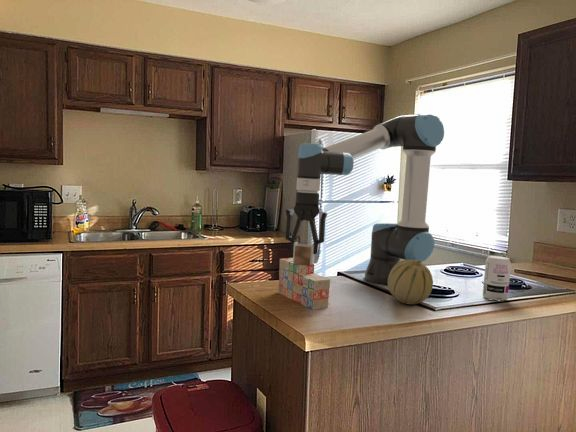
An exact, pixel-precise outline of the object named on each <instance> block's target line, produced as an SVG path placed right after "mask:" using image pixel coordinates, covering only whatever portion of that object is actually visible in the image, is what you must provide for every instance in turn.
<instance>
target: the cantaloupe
mask: <svg viewBox="0 0 576 432" xmlns="http://www.w3.org/2000/svg"><path fill="white" fill-rule="evenodd" d="M387 287H388V290H389V293H390V294H391V295H392V297H393V298H394V299H395V300H397V301H398V302H400V303H403V304H406V305H418V304H421V303H422V302H424V301H426V299H428V298H429V296H430V295H431V293H432V290H433V287H434V278H433V275H432V273H431V270H430V269H429V268H428V267H427V266H426V264H423V262H421V261H420V260H419V261H415V260H404V259H402V260H400V262H398V263H397V264H396V265H395V266H394V267H393V268H392V270H391V272H390V274H389V276H388V284H387Z"/></svg>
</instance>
